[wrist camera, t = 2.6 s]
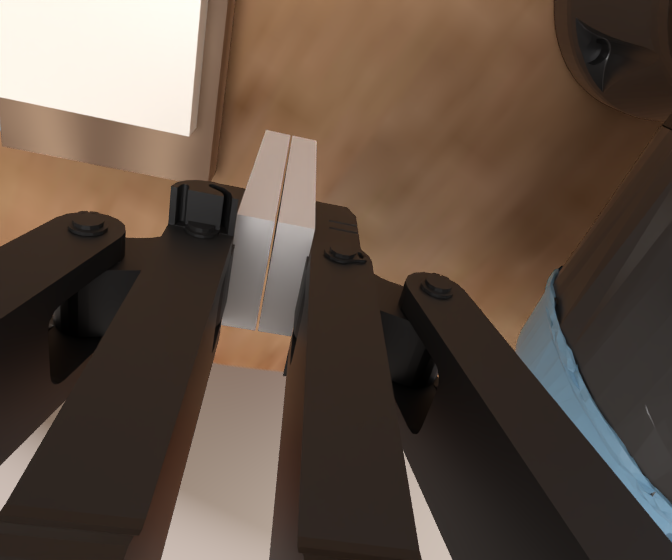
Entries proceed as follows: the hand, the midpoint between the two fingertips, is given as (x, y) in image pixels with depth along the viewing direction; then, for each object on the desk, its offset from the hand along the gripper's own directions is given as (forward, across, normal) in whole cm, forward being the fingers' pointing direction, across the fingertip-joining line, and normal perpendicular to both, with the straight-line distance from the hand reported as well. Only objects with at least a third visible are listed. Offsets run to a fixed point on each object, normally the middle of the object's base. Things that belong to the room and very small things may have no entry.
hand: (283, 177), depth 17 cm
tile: (+15, +10, 0) cm, 19 cm away
